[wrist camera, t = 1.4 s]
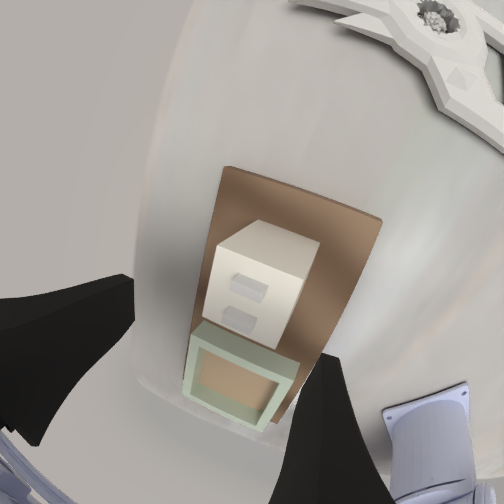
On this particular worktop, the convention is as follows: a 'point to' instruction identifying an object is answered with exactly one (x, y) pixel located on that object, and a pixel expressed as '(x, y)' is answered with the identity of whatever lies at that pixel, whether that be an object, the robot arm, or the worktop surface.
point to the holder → (236, 376)
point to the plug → (258, 280)
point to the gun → (437, 51)
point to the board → (322, 270)
